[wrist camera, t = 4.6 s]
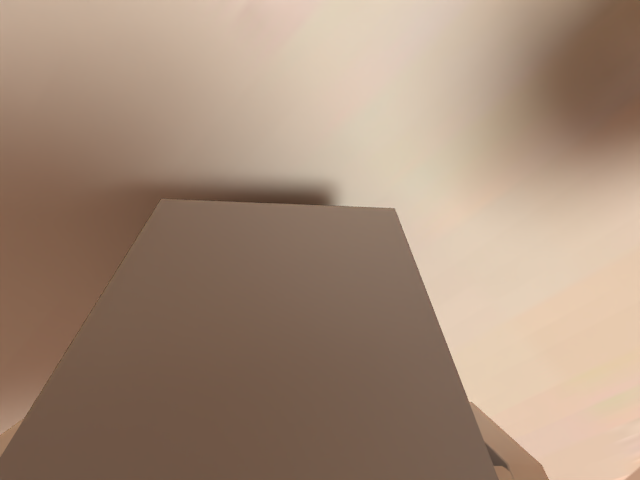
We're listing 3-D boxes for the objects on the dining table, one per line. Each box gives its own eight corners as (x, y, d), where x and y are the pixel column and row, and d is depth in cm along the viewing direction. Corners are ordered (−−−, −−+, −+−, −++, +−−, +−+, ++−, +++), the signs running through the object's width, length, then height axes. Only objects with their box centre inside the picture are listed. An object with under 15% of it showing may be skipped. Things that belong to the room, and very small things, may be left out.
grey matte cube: (161, 198, 12) (-43, 525, 5) (394, 208, 13) (514, 519, 6) (188, 357, 16) (96, 666, 9) (365, 360, 17) (412, 657, 10)
